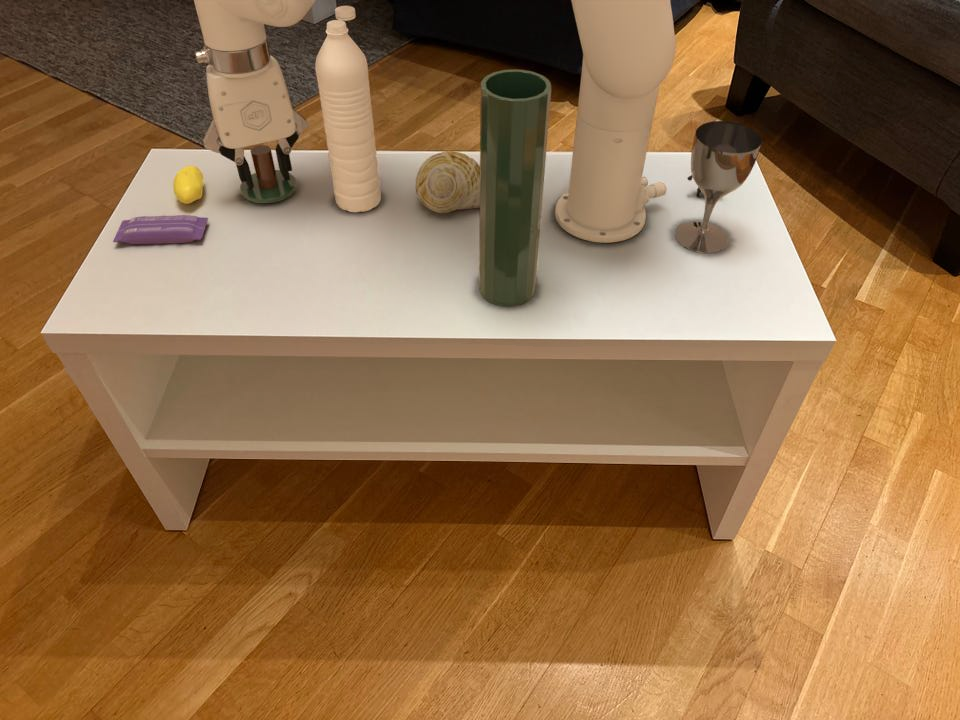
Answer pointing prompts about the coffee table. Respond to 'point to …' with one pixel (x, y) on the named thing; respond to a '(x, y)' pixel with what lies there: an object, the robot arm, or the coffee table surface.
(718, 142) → the wine glass
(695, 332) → the coffee table surface
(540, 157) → the green cylindrical vase
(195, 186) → the lemon
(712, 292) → the coffee table surface
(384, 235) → the coffee table surface
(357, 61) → the water bottle
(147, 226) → the snack package
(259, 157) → the lid
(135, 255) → the coffee table surface
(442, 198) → the seashell
